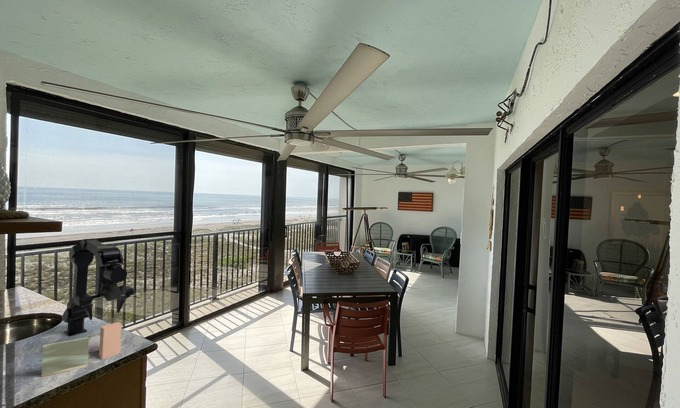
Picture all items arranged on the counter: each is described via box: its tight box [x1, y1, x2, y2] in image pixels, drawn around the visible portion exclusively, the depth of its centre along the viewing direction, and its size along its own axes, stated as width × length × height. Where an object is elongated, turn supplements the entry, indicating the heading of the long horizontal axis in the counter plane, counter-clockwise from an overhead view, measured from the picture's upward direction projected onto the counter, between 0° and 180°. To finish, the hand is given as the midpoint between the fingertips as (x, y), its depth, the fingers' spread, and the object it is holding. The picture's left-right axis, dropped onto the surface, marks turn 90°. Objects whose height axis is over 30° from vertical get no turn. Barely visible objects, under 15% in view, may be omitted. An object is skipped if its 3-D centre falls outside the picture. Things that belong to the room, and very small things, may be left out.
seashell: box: [88, 334, 100, 354], centre depth 123 cm, size 10×6×10 cm
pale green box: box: [41, 336, 90, 378], centre depth 108 cm, size 10×12×11 cm
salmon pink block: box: [98, 321, 123, 360], centre depth 117 cm, size 3×6×12 cm, turn 149°
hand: (104, 316), depth 119 cm, fingers open, 9 cm apart
